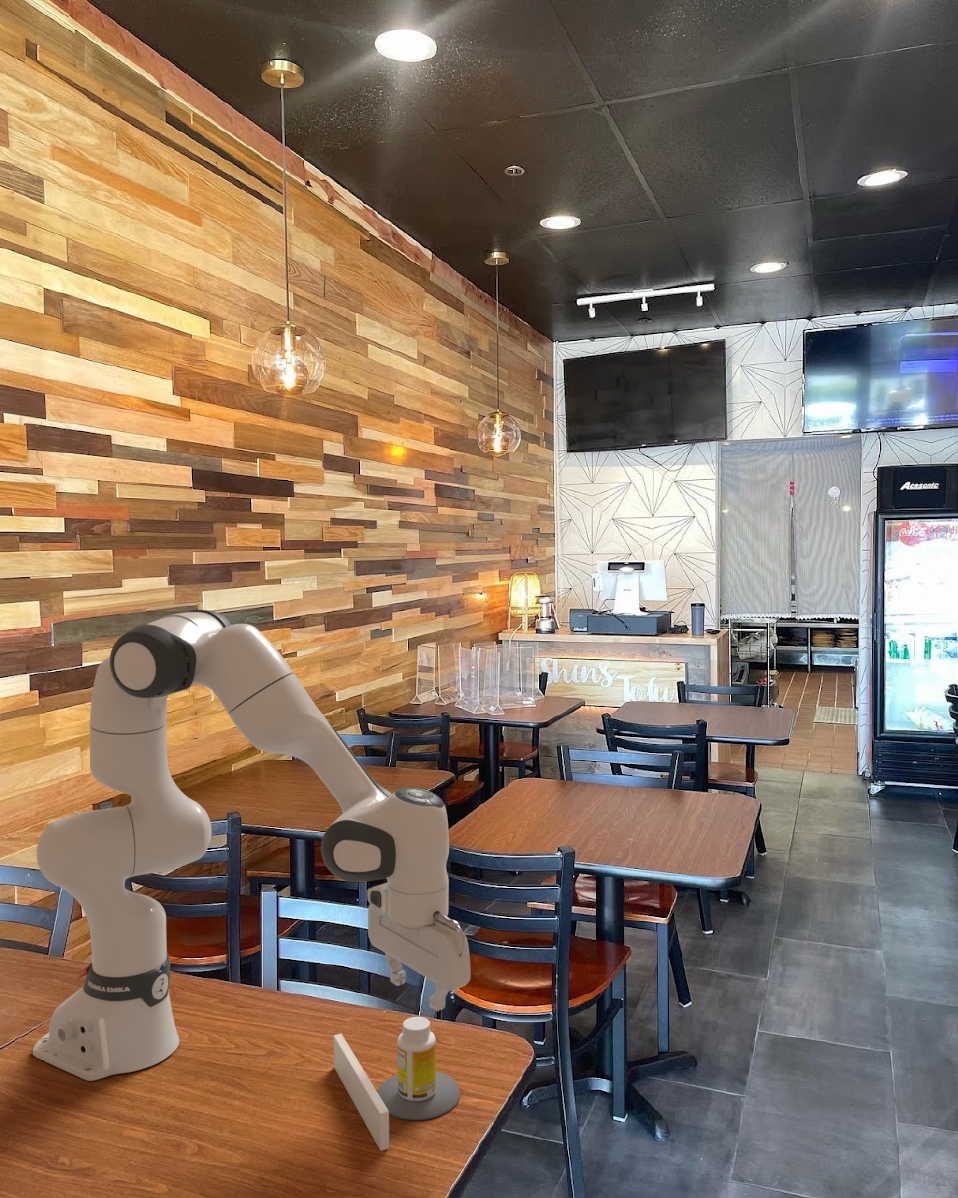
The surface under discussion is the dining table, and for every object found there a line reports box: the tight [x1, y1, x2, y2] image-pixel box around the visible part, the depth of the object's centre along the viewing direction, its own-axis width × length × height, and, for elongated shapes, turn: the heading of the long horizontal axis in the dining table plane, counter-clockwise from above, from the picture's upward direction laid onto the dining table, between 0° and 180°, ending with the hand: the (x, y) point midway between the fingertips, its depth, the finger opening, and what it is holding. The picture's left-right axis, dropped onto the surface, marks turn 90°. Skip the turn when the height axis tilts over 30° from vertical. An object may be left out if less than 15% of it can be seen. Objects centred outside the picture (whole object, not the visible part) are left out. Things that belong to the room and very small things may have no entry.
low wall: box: [333, 1033, 390, 1152], centre depth 130 cm, size 22×1×5 cm, turn 25°
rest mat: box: [377, 1070, 461, 1121], centre depth 132 cm, size 12×12×1 cm
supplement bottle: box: [396, 1016, 437, 1102], centre depth 132 cm, size 6×6×10 cm
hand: (417, 995), depth 132 cm, fingers open, 8 cm apart
